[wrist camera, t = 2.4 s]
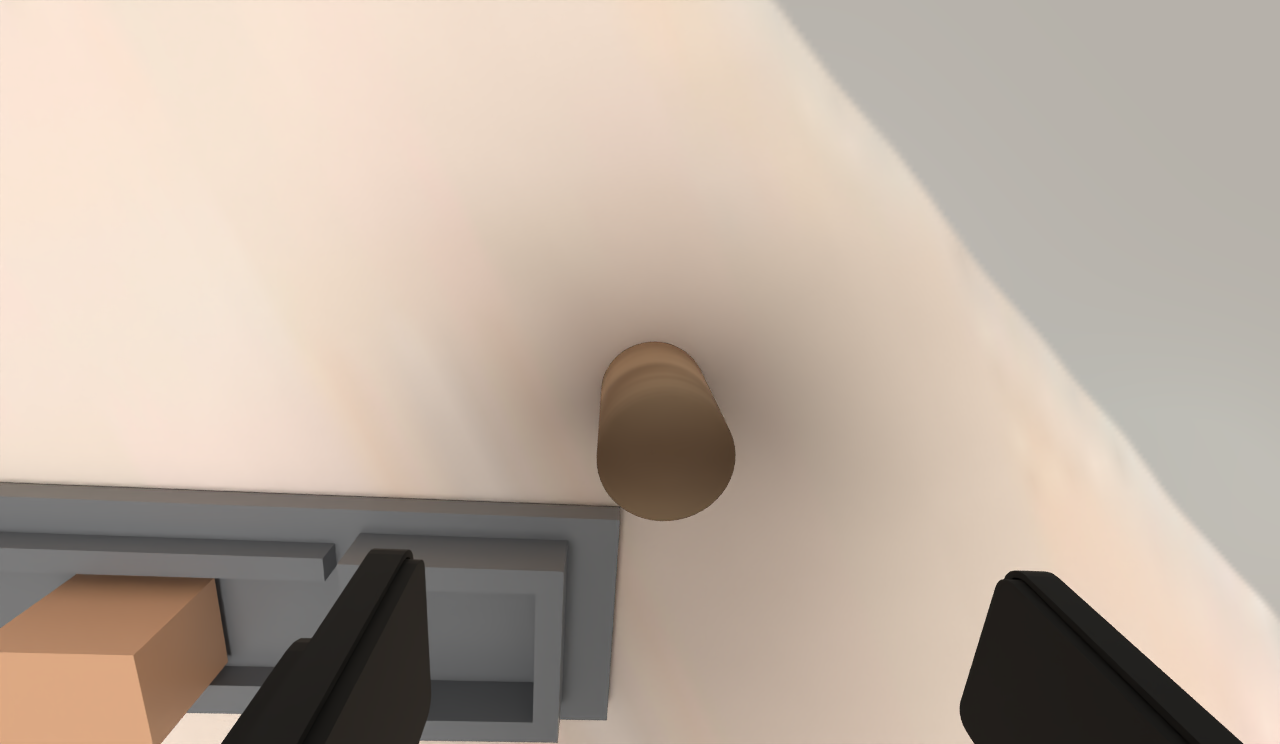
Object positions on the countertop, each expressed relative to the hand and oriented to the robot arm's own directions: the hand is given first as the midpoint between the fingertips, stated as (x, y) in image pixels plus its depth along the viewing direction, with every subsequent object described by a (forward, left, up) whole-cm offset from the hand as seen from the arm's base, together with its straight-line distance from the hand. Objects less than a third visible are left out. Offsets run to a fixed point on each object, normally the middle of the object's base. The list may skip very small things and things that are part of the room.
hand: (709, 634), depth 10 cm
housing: (-11, +15, -14) cm, 23 cm away
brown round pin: (-1, 0, -14) cm, 14 cm away
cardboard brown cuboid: (-11, +19, -12) cm, 25 cm away
